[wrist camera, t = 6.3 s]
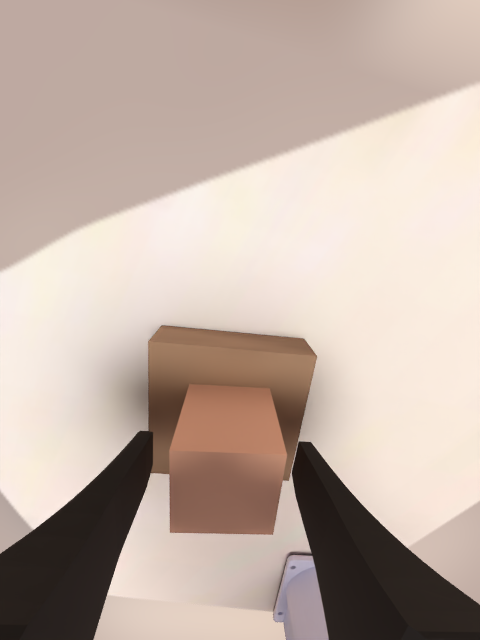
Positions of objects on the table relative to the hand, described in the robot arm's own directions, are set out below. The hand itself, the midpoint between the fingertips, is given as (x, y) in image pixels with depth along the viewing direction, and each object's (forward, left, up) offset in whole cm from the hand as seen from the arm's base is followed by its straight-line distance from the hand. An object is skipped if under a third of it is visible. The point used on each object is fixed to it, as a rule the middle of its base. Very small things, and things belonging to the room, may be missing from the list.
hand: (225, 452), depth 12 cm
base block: (0, 0, -5) cm, 5 cm away
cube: (0, 0, -2) cm, 2 cm away
